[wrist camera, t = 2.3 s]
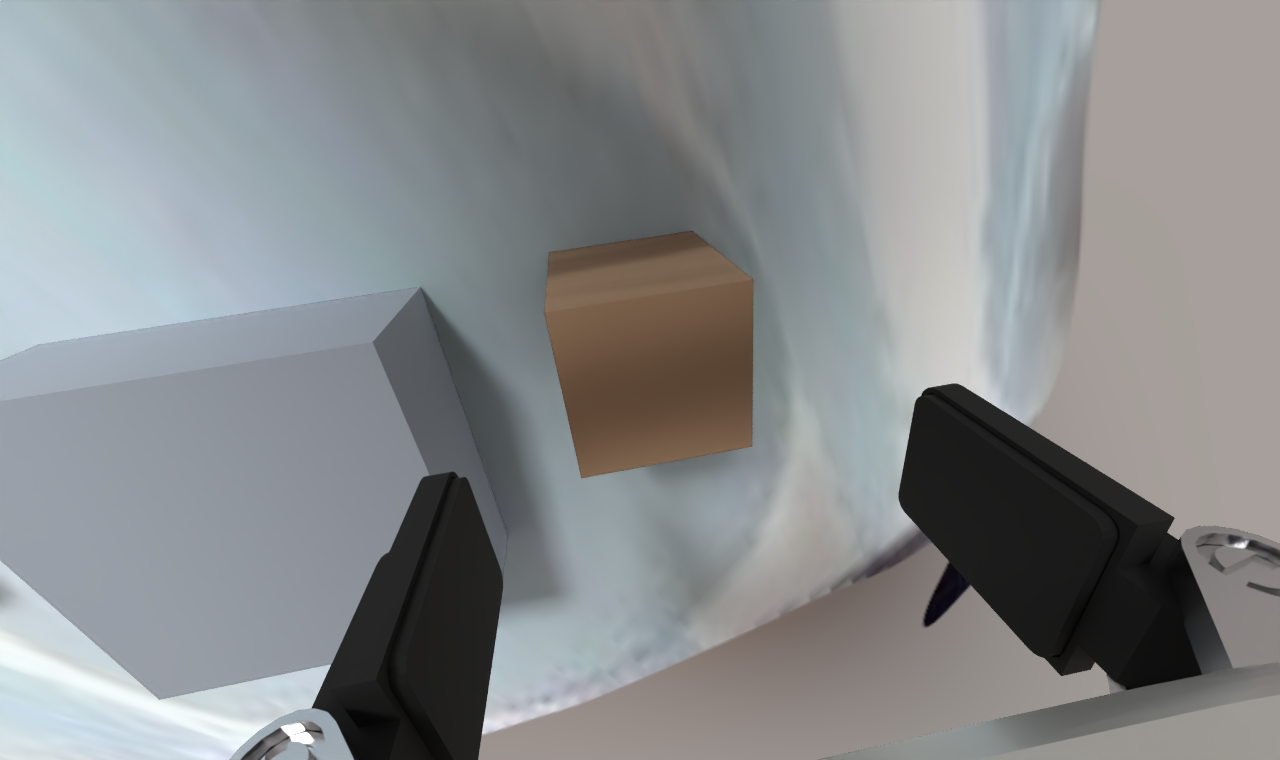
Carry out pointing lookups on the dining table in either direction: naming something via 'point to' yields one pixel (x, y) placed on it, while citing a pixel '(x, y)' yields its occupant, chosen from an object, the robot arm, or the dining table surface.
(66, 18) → the dining table surface
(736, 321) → the walnut block
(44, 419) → the plinth
